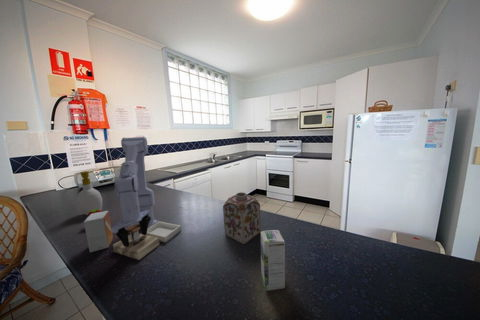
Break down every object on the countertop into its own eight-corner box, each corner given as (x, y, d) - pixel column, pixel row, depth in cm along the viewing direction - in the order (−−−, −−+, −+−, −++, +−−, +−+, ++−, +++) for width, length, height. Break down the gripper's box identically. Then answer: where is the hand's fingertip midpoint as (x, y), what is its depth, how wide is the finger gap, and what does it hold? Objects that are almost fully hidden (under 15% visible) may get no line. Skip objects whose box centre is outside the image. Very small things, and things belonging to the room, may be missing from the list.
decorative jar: (261, 232, 74) (260, 192, 71) (244, 245, 66) (241, 201, 63) (241, 223, 82) (239, 187, 80) (223, 234, 74) (220, 195, 71)
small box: (109, 247, 69) (103, 217, 67) (89, 253, 67) (82, 222, 65) (113, 237, 76) (108, 210, 74) (95, 241, 74) (90, 213, 72)
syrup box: (260, 274, 52) (259, 230, 50) (279, 272, 52) (278, 228, 50) (265, 291, 46) (263, 243, 44) (286, 288, 47) (285, 240, 45)
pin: (128, 250, 67) (124, 229, 65) (138, 243, 71) (135, 223, 69) (135, 253, 65) (132, 231, 64) (145, 245, 69) (142, 225, 68)
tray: (142, 237, 75) (142, 231, 75) (159, 226, 84) (159, 221, 84) (165, 242, 70) (165, 237, 70) (181, 230, 79) (180, 225, 79)
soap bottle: (110, 210, 106) (102, 169, 102) (95, 217, 98) (86, 173, 94) (91, 209, 109) (83, 170, 105) (75, 216, 100) (66, 173, 96)
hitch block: (114, 251, 66) (112, 244, 66) (135, 238, 75) (134, 232, 74) (139, 260, 61) (137, 252, 61) (159, 244, 69) (158, 237, 69)
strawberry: (96, 228, 85) (93, 209, 84) (86, 227, 87) (82, 208, 86) (108, 222, 91) (105, 204, 89) (98, 221, 93) (94, 203, 91)
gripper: (118, 217, 57) (124, 254, 59) (154, 201, 70) (158, 231, 72) (104, 215, 60) (111, 250, 62) (141, 199, 73) (146, 228, 75)
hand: (135, 239), depth 67 cm, fingers open, 7 cm apart
